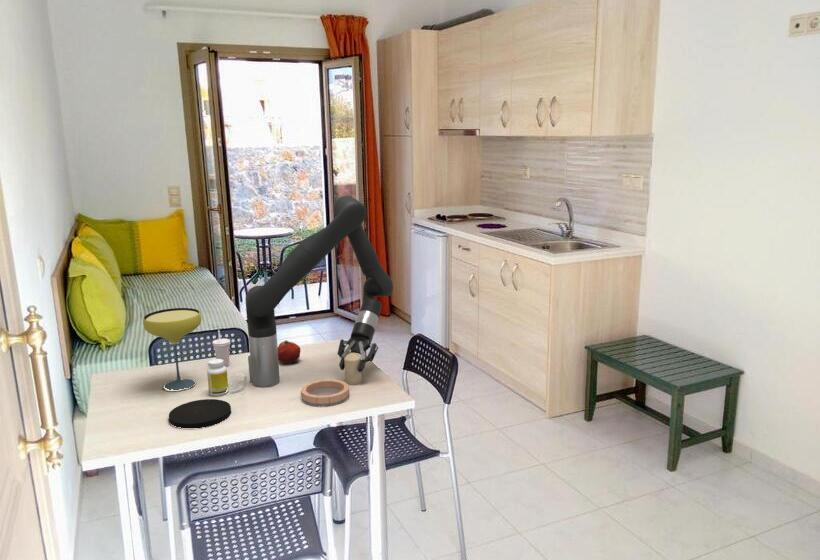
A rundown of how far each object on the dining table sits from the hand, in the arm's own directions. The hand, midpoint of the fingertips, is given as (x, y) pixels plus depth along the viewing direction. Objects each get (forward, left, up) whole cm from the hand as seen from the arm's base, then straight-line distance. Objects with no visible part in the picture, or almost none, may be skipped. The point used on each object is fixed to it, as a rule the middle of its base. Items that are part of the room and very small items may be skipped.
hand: (350, 369), depth 215 cm
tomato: (-33, +9, -5) cm, 35 cm away
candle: (0, +2, -5) cm, 5 cm away
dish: (-1, -13, -5) cm, 14 cm away
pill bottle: (-35, -25, -5) cm, 44 cm away
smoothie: (-52, -5, -5) cm, 53 cm away
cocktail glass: (-52, -26, -5) cm, 59 cm away
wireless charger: (-27, -41, -5) cm, 50 cm away
